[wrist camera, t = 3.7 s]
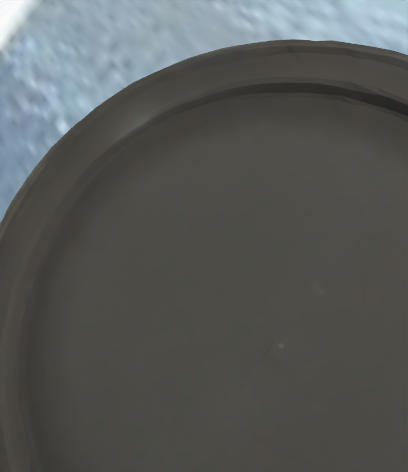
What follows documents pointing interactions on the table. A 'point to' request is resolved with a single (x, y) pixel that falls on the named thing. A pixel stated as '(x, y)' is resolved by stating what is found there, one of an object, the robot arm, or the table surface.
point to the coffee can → (216, 272)
